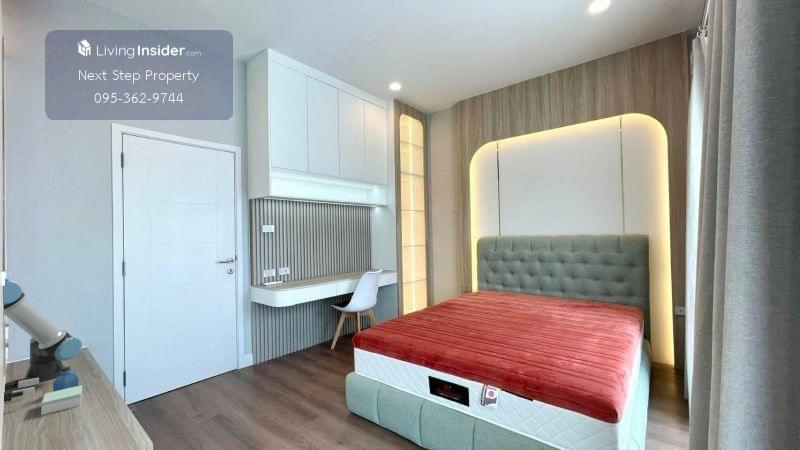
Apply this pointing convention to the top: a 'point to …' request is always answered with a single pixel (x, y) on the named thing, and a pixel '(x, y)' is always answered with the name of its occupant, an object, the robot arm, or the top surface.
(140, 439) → the top surface
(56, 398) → the mint green square block
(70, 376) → the perfume bottle
